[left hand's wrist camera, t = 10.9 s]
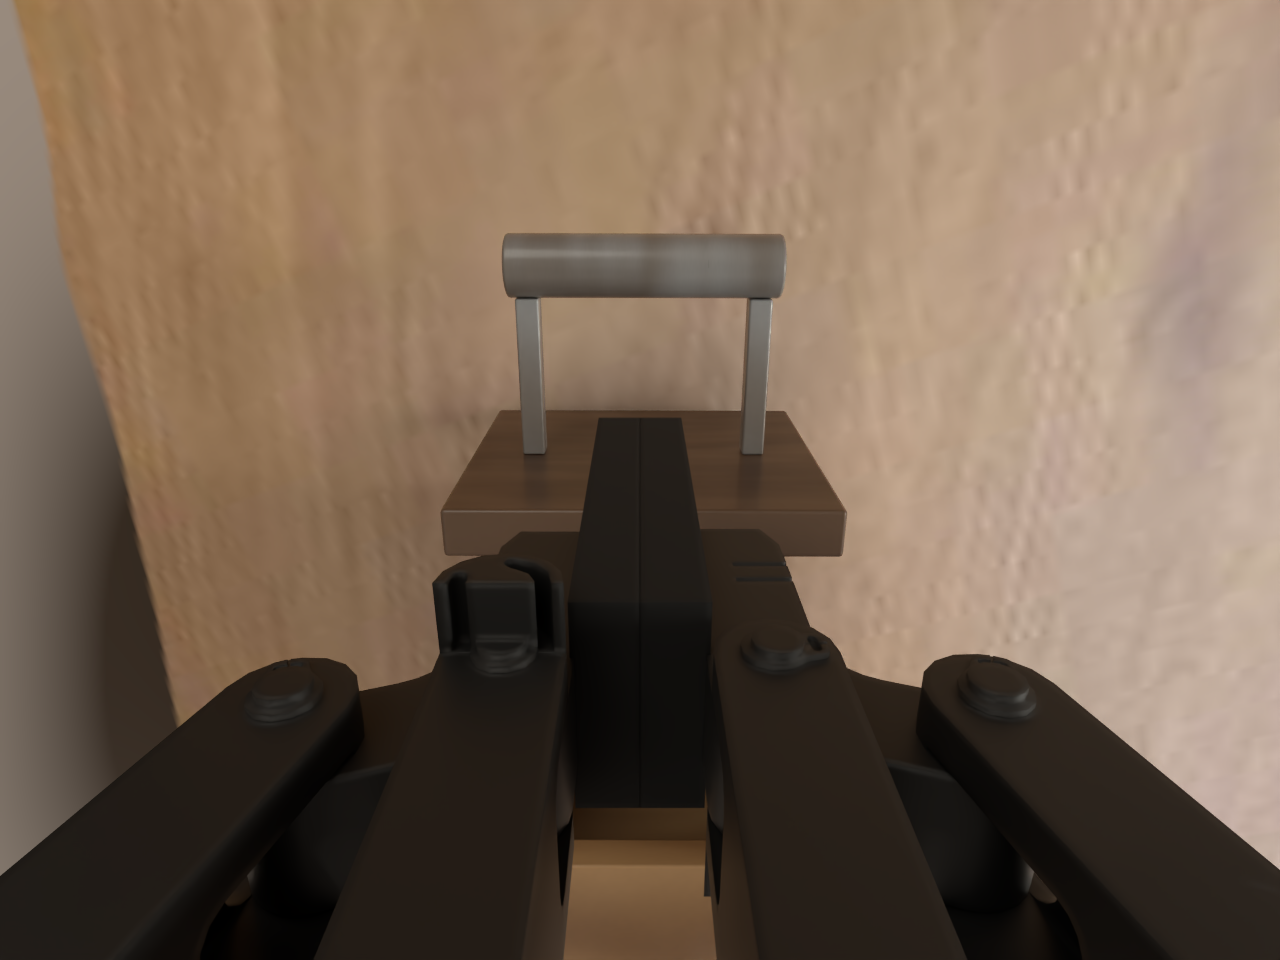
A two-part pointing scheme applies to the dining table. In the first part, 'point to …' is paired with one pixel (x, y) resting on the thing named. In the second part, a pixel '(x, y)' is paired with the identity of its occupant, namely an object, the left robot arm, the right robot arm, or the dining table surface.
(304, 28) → the dining table surface
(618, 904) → the cabinet
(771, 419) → the drawer
